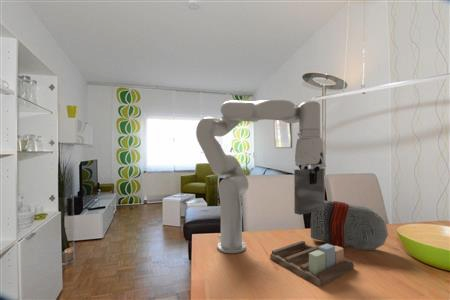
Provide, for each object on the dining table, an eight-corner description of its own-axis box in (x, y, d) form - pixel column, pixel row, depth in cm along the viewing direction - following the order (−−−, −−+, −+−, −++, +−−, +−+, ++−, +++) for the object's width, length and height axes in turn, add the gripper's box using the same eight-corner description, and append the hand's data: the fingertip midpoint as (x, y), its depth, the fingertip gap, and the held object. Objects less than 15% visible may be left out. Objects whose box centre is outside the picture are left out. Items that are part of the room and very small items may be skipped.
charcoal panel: (294, 213, 83) (294, 169, 83) (318, 208, 91) (318, 168, 91) (300, 214, 81) (300, 170, 81) (324, 209, 89) (323, 168, 89)
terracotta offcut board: (328, 267, 83) (328, 248, 83) (336, 264, 86) (336, 245, 86) (336, 271, 81) (336, 251, 81) (343, 267, 83) (343, 248, 83)
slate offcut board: (319, 271, 80) (318, 246, 80) (327, 268, 83) (327, 243, 83) (326, 275, 78) (326, 249, 78) (335, 271, 80) (334, 246, 80)
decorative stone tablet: (312, 199, 105) (391, 212, 92) (313, 197, 111) (387, 208, 98) (308, 241, 105) (386, 259, 93) (309, 236, 111) (383, 253, 98)
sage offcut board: (309, 276, 77) (308, 253, 77) (317, 272, 80) (317, 249, 80) (316, 280, 75) (316, 256, 75) (325, 276, 77) (325, 252, 77)
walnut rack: (270, 258, 90) (270, 251, 90) (303, 247, 101) (303, 240, 101) (319, 286, 72) (319, 277, 72) (353, 268, 82) (353, 260, 82)
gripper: (286, 135, 91) (286, 181, 91) (322, 133, 77) (322, 187, 77) (298, 136, 95) (299, 180, 95) (335, 133, 81) (335, 185, 81)
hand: (309, 182), depth 86 cm, fingers closed on charcoal panel, 2 cm apart
